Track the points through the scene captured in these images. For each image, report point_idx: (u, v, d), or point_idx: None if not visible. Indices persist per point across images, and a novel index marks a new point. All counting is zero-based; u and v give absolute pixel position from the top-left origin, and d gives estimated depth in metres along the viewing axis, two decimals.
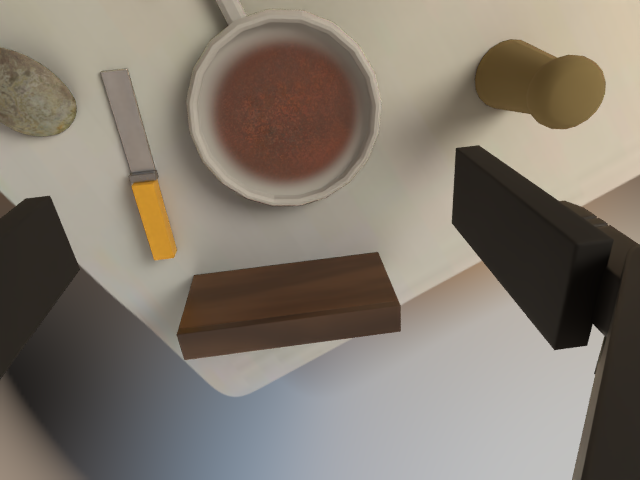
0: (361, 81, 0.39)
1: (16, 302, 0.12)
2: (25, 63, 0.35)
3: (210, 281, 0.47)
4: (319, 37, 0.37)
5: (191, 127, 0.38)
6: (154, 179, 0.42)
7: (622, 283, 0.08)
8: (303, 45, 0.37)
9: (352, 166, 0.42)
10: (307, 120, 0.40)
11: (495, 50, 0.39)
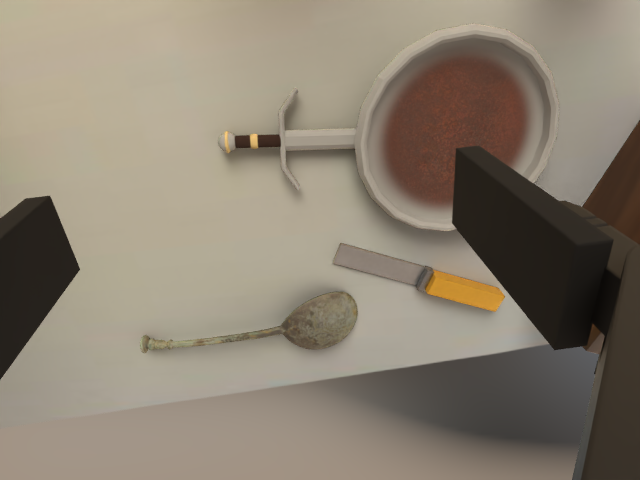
0: (471, 41, 0.34)
1: (16, 302, 0.12)
2: (305, 310, 0.43)
3: None
4: (407, 69, 0.34)
5: (414, 225, 0.40)
6: (432, 273, 0.44)
7: (622, 283, 0.08)
8: (405, 87, 0.35)
9: (546, 93, 0.35)
10: (471, 117, 0.37)
11: None
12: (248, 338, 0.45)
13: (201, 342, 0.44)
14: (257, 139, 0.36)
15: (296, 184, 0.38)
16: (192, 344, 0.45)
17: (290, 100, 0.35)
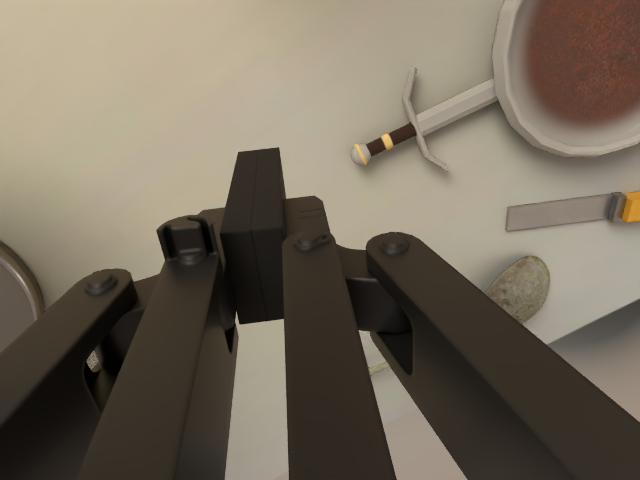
0: None
1: None
2: (495, 290, 0.39)
3: None
4: None
5: (594, 154, 0.34)
6: (625, 197, 0.37)
7: (283, 272, 0.09)
8: (535, 7, 0.29)
9: None
10: (624, 3, 0.30)
11: None
12: None
13: None
14: (390, 138, 0.33)
15: (445, 166, 0.34)
16: None
17: (412, 82, 0.31)
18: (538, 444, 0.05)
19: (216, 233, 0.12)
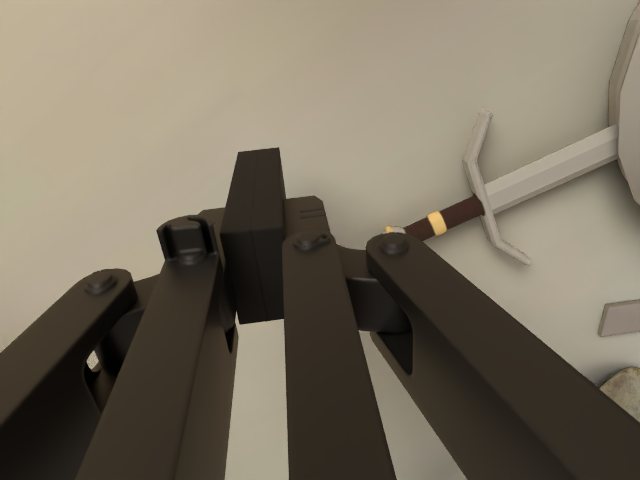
0: None
1: None
2: None
3: None
4: None
5: None
6: None
7: (283, 272, 0.09)
8: None
9: None
10: None
11: None
12: None
13: None
14: (443, 219, 0.21)
15: (524, 258, 0.22)
16: None
17: (483, 135, 0.19)
18: (538, 444, 0.05)
19: (216, 233, 0.12)
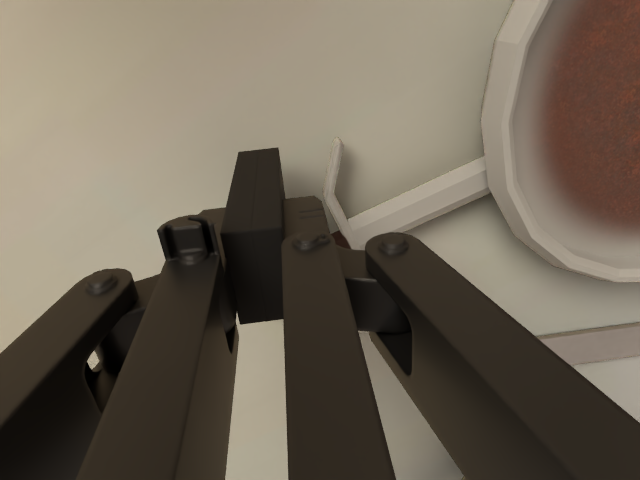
0: None
1: None
2: None
3: None
4: None
5: None
6: None
7: (283, 272, 0.09)
8: (562, 34, 0.16)
9: None
10: None
11: None
12: None
13: None
14: None
15: None
16: None
17: (336, 167, 0.17)
18: (538, 444, 0.05)
19: (217, 233, 0.12)
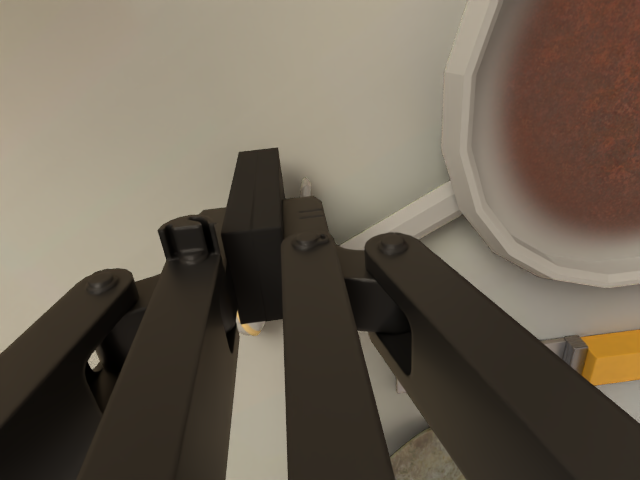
0: None
1: None
2: None
3: None
4: (500, 17, 0.15)
5: None
6: (586, 349, 0.23)
7: (282, 273, 0.09)
8: (513, 55, 0.15)
9: None
10: None
11: None
12: None
13: None
14: None
15: None
16: None
17: None
18: (537, 445, 0.05)
19: (217, 233, 0.12)
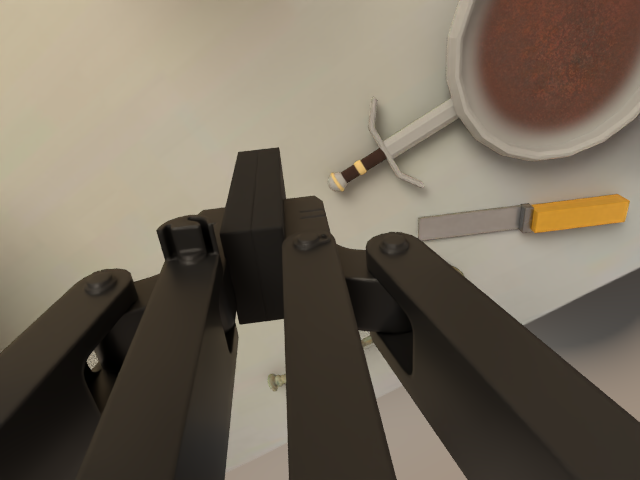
0: None
1: None
2: None
3: None
4: (475, 10, 0.30)
5: (562, 156, 0.35)
6: (532, 209, 0.38)
7: (283, 272, 0.09)
8: (482, 29, 0.31)
9: None
10: (570, 12, 0.31)
11: None
12: (365, 345, 0.43)
13: None
14: (362, 164, 0.35)
15: (419, 183, 0.36)
16: None
17: (374, 112, 0.33)
18: (538, 444, 0.05)
19: (216, 233, 0.12)
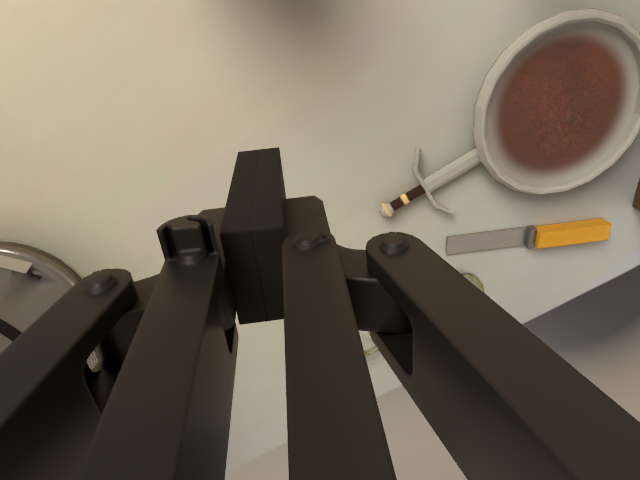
0: (537, 36, 0.39)
1: None
2: None
3: None
4: (496, 86, 0.41)
5: (559, 191, 0.45)
6: (536, 230, 0.49)
7: (283, 272, 0.09)
8: (500, 99, 0.42)
9: (625, 34, 0.39)
10: (566, 87, 0.42)
11: None
12: None
13: (366, 353, 0.54)
14: (407, 197, 0.45)
15: (449, 211, 0.47)
16: None
17: (418, 158, 0.44)
18: (538, 445, 0.05)
19: (216, 233, 0.12)
